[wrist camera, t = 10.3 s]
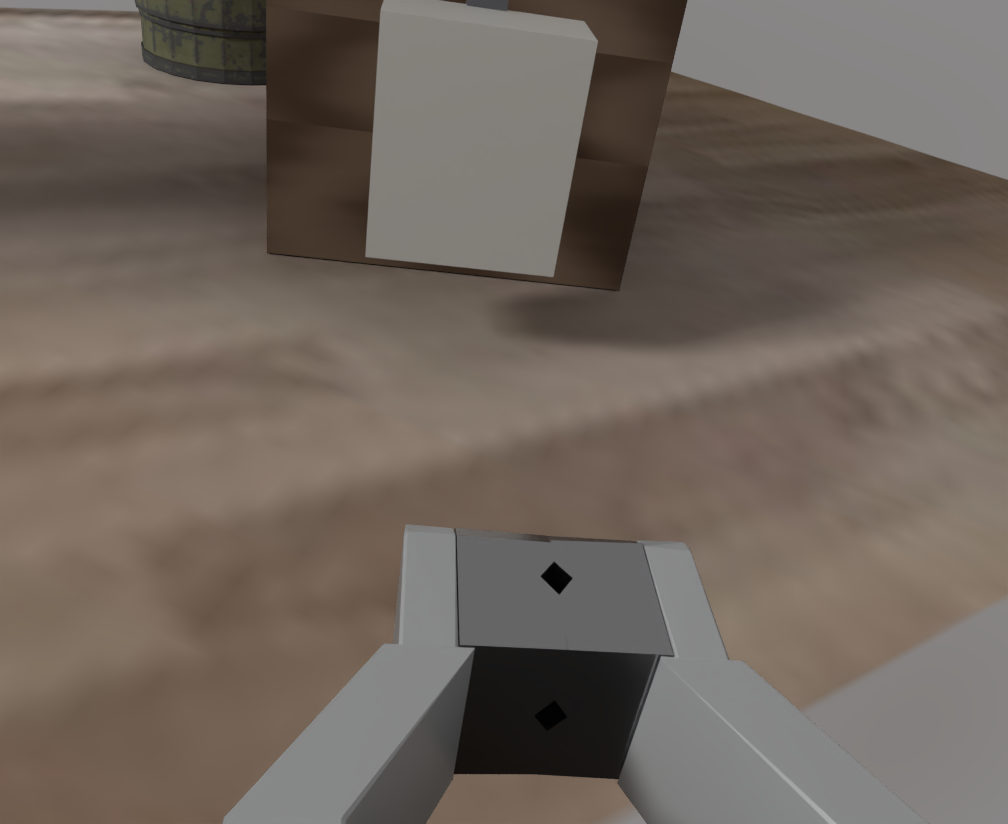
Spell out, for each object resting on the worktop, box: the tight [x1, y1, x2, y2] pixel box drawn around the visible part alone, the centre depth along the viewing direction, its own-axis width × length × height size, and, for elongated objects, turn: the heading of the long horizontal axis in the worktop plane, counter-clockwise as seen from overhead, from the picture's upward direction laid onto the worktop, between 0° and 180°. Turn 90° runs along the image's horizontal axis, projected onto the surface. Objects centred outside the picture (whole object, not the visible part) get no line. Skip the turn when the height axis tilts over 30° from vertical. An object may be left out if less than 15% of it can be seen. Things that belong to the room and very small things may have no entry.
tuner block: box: [266, 0, 687, 290], centre depth 32 cm, size 12×12×12 cm
